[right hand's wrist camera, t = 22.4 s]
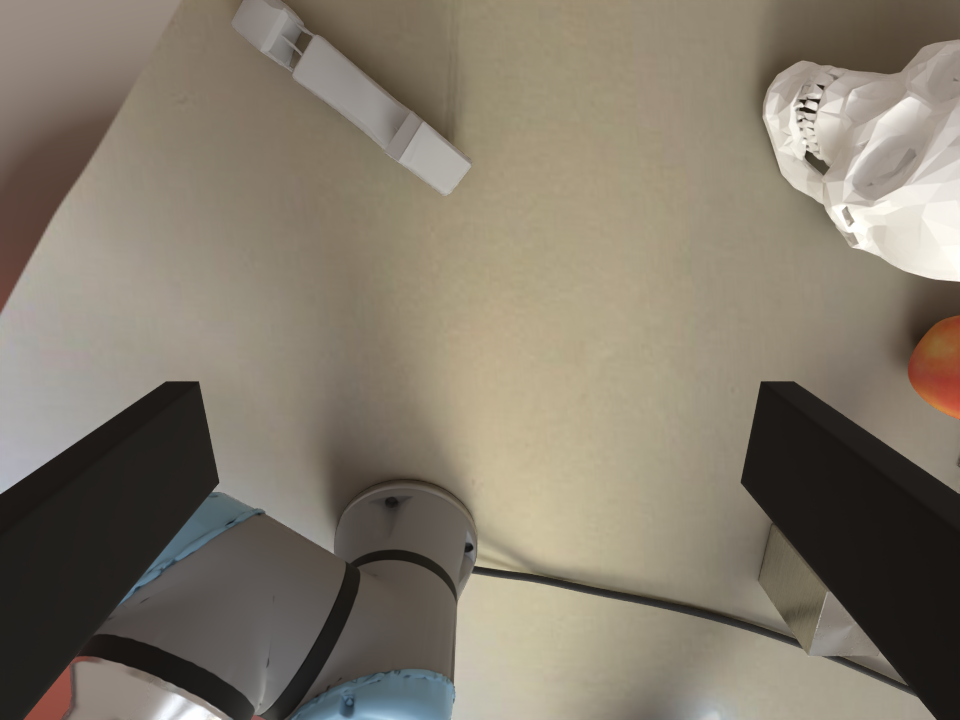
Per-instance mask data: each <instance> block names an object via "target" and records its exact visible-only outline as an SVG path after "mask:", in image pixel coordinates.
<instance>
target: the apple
mask: <svg viewBox="0 0 960 720" xmlns="http://www.w3.org/2000/svg"><path fill="white" fill-rule="evenodd" d="M908 376H909V380H910V382H911V384H912V386H913V388H914V389H915V390H916V392H917V393H918V394H919V395H920V396H921V397H922V398H923V399H924V400H925V401H926V402H928V403H929V404H930V405H932V406H933V407H935V408H936V409H938V410H940V411H941V412H943V413H945V414H947V415H950V416H952V417H955V418H957V419H960V315H957V316H952V317H948V318H946V319H943V320H941V321H939V322H938V323H936V324H935V325H934V326H933V327H931V328H930V330H929V331H928V332H927V333H926V334H925V335H924V336H923V338H922V339H921V340H920V342H919V343H918V344H917V346H916V348H915V349H914V351H913V353H912V355H911V358H910V361H909V365H908Z"/></svg>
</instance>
